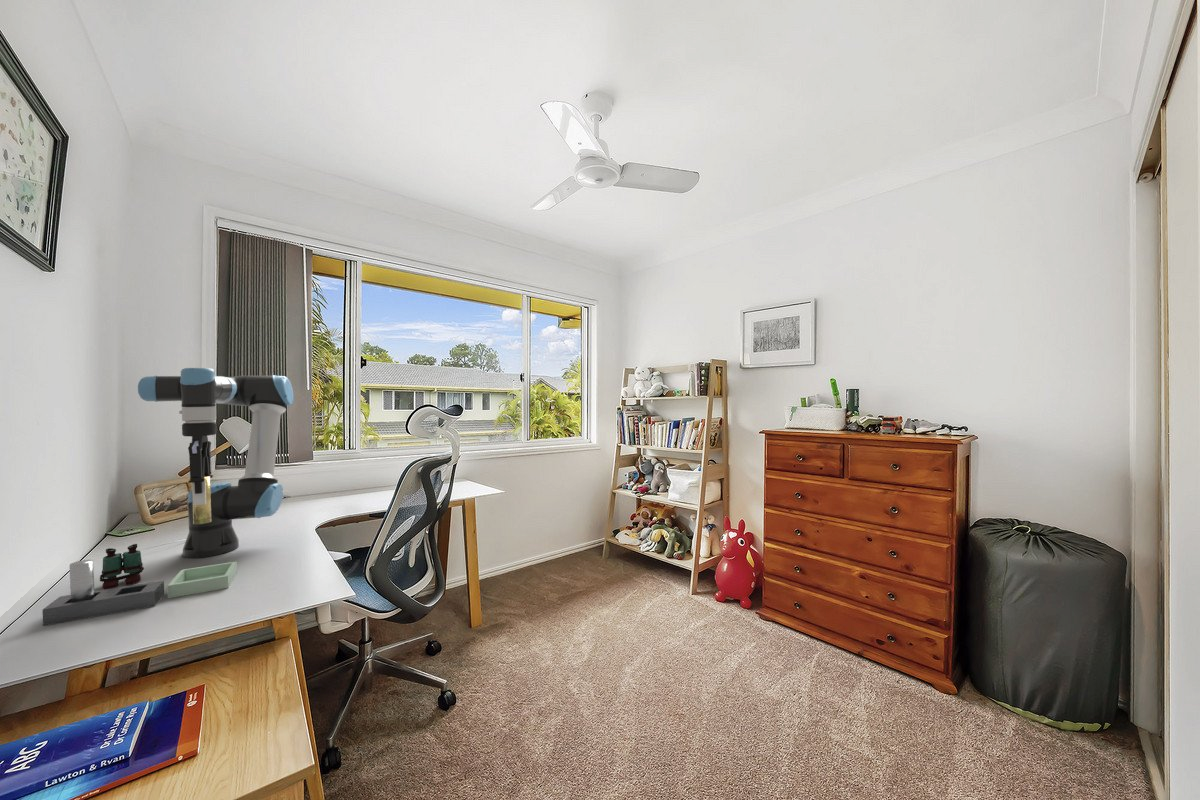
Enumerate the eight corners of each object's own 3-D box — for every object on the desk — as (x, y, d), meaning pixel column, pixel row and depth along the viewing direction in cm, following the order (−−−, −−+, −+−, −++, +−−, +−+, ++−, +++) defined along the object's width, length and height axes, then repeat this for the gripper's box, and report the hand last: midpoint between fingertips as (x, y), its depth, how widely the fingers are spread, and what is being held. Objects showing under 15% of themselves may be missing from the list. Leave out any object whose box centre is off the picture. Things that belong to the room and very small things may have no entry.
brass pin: (195, 521, 136) (193, 477, 135) (212, 519, 138) (211, 475, 137) (191, 525, 132) (190, 479, 132) (209, 523, 134) (208, 477, 134)
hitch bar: (60, 612, 119) (59, 596, 119) (164, 594, 129) (164, 580, 129) (43, 625, 112) (42, 609, 112) (154, 606, 122) (154, 590, 122)
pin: (76, 612, 119) (74, 561, 119) (98, 608, 121) (96, 558, 121) (68, 618, 116) (66, 566, 115) (90, 614, 118) (89, 563, 117)
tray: (181, 581, 138) (181, 569, 138) (236, 572, 144) (236, 561, 144) (167, 598, 127) (167, 585, 127) (228, 587, 133) (228, 575, 133)
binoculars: (98, 559, 129) (100, 547, 136) (99, 596, 130) (101, 582, 137) (143, 551, 135) (143, 540, 143) (144, 586, 136) (144, 573, 144)
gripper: (190, 420, 140) (192, 498, 140) (173, 424, 125) (175, 511, 126) (222, 419, 144) (224, 495, 144) (209, 422, 129) (211, 507, 129)
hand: (201, 502), depth 135 cm, fingers closed on brass pin, 4 cm apart
